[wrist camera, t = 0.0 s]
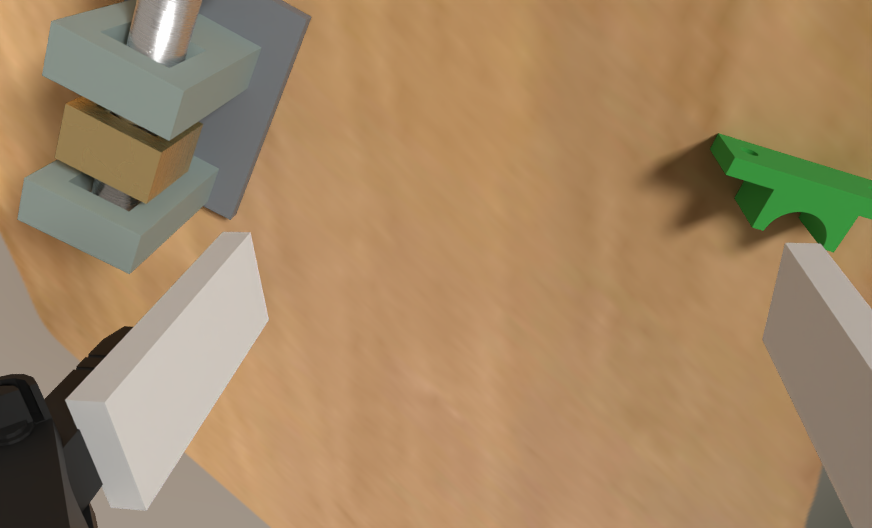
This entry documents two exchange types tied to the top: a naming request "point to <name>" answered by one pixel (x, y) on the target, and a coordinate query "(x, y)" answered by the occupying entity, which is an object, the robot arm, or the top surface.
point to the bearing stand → (166, 118)
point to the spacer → (122, 150)
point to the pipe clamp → (794, 190)
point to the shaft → (155, 57)
